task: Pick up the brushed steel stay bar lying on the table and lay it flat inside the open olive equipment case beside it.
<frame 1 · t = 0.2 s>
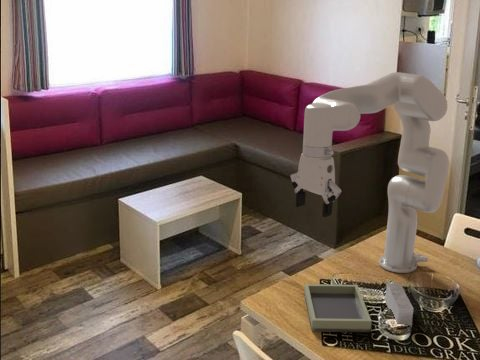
hand: (313, 210, 157), 31 cm above the table, tool pointing down, fingers open, 9 cm apart
stay bar: (397, 313, 165), on the table
case: (335, 312, 165), on the table
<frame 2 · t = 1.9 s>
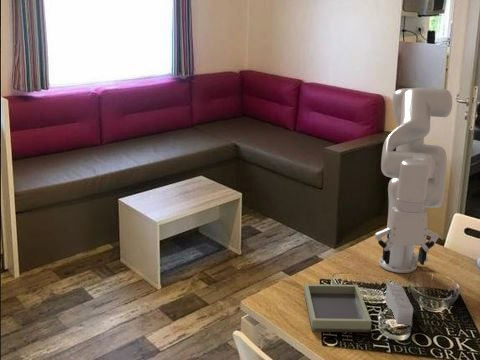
hand: (403, 262, 160), 16 cm above the table, tool pointing down, fingers open, 9 cm apart
nothing on the table moved.
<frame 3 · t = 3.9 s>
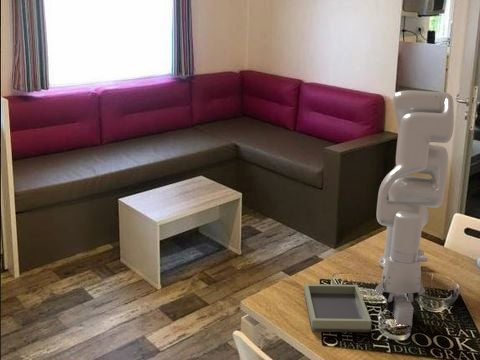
hand: (397, 311, 165), 1 cm above the table, tool pointing down, fingers closed on stay bar, 4 cm apart
stay bar: (397, 313, 165), on the table, touching gripper
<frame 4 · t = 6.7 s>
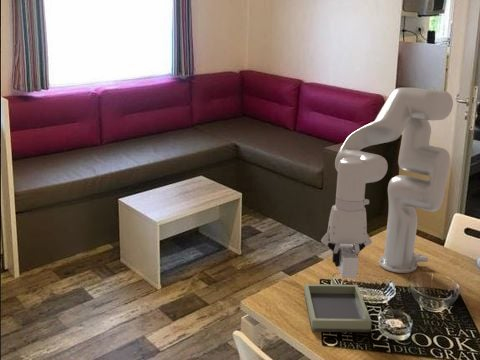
hand: (344, 263, 160), 16 cm above the table, tool pointing down, fingers closed on stay bar, 4 cm apart
stay bar: (344, 266, 160), point 15 cm above the table, touching gripper
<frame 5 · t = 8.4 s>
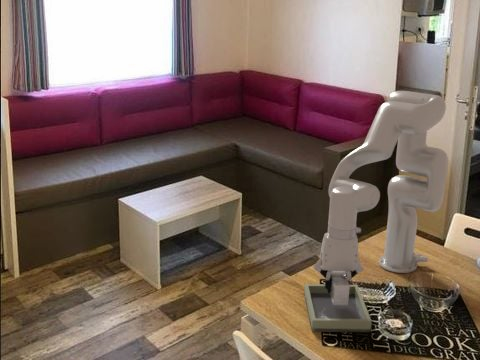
hand: (336, 290, 163), 7 cm above the table, tool pointing down, fingers closed on stay bar, 4 cm apart
stay bar: (336, 292, 163), point 7 cm above the table, touching gripper
when the fingers open (3 cm above the table, at t = 9.5 s): stay bar drops 1 cm, resting on case.
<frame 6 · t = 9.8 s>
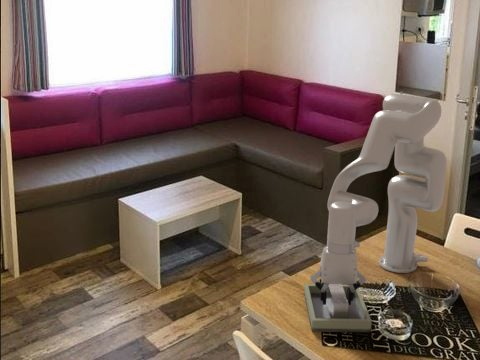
hand: (336, 302, 164), 3 cm above the table, tool pointing down, fingers open, 6 cm apart
stay bar: (335, 309, 165), point 1 cm above the table, touching case
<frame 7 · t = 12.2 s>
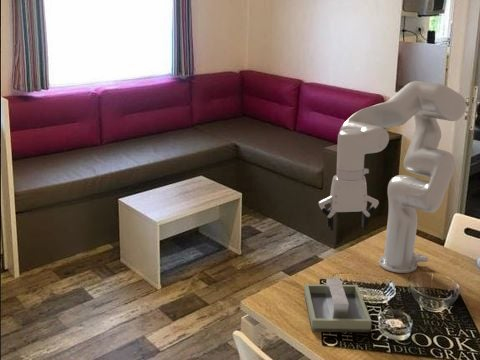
hand: (347, 228, 167), 22 cm above the table, tool pointing down, fingers open, 9 cm apart
nothing on the table moved.
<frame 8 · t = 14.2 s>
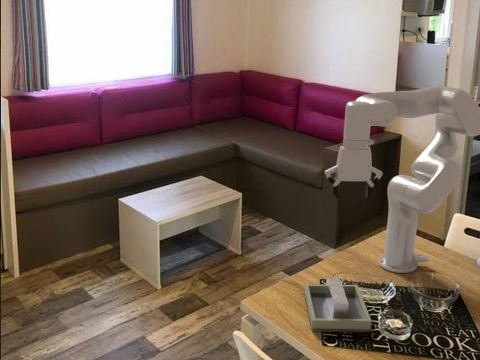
hand: (351, 197, 174), 28 cm above the table, tool pointing down, fingers open, 9 cm apart
nothing on the table moved.
at the end: stay bar inside the target area on the case (0.0 cm from its centre), point 1.0 cm above the case's base; the gripper is holding nothing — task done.
